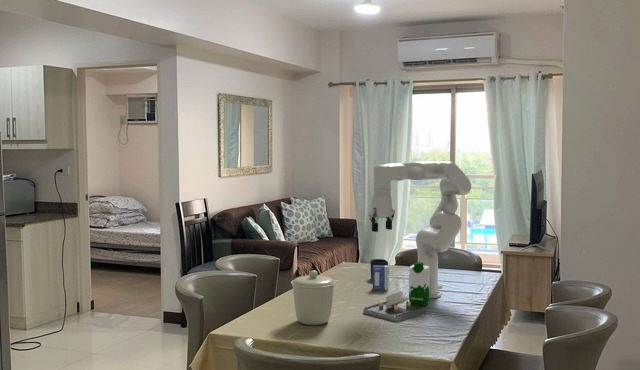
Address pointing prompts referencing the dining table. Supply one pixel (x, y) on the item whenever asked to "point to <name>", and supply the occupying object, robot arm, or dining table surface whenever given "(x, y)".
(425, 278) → the milk carton
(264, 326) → the dining table surface
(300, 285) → the canister
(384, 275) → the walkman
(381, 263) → the pen holder
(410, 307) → the plate
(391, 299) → the mechanical component
